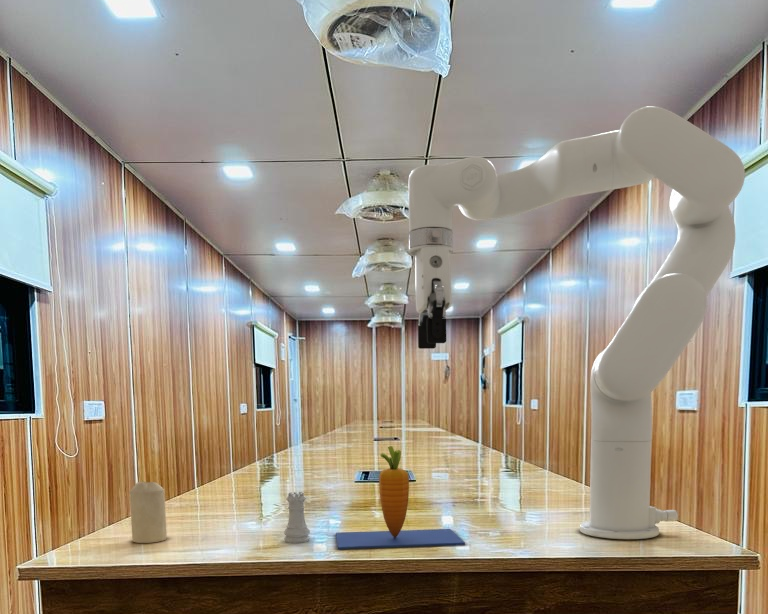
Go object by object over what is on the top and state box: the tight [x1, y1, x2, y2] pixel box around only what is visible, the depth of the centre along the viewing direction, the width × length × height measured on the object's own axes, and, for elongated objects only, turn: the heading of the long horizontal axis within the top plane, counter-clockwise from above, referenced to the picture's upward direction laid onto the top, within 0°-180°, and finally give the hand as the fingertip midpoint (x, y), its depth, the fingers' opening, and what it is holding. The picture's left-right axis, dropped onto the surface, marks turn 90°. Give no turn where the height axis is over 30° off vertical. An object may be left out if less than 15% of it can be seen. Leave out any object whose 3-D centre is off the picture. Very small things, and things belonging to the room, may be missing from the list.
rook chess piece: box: [283, 491, 312, 544], centre depth 108 cm, size 4×4×8 cm
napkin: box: [335, 528, 466, 551], centre depth 108 cm, size 20×12×1 cm, turn 96°
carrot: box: [378, 445, 410, 538], centre depth 107 cm, size 5×5×15 cm
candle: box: [129, 480, 168, 544], centre depth 111 cm, size 6×6×10 cm
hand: (431, 345), depth 114 cm, fingers open, 9 cm apart
